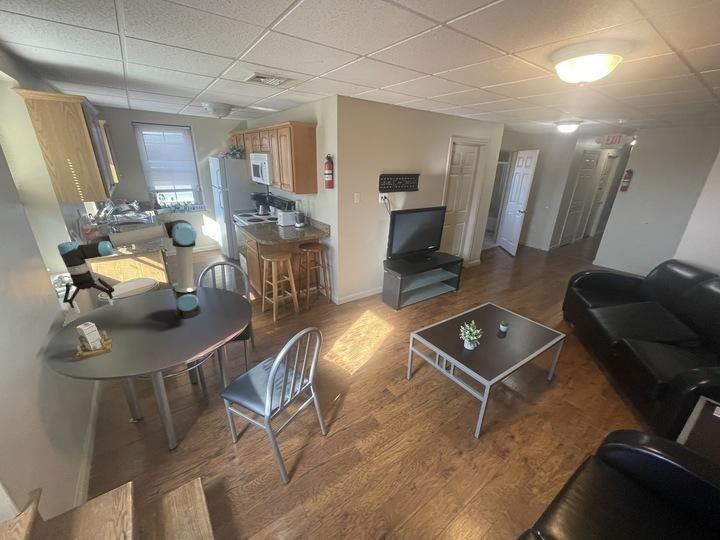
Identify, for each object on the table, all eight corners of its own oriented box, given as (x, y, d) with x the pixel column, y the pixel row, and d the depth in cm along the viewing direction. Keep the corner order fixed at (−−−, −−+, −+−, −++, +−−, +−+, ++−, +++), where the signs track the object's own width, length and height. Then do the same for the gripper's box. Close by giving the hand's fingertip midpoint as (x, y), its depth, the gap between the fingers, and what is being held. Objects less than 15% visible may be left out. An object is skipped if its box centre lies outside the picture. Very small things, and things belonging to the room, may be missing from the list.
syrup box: (104, 345, 158) (95, 323, 153) (92, 351, 153) (82, 328, 148) (97, 343, 160) (88, 321, 155) (85, 349, 155) (75, 326, 149)
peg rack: (80, 349, 158) (75, 337, 155) (112, 340, 166) (108, 328, 163) (76, 361, 149) (71, 348, 146) (111, 351, 157) (106, 339, 154)
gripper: (43, 281, 135) (62, 319, 143) (110, 268, 148) (124, 303, 157) (47, 275, 141) (65, 312, 149) (111, 264, 154) (124, 298, 162)
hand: (95, 308), depth 153 cm, fingers open, 13 cm apart
